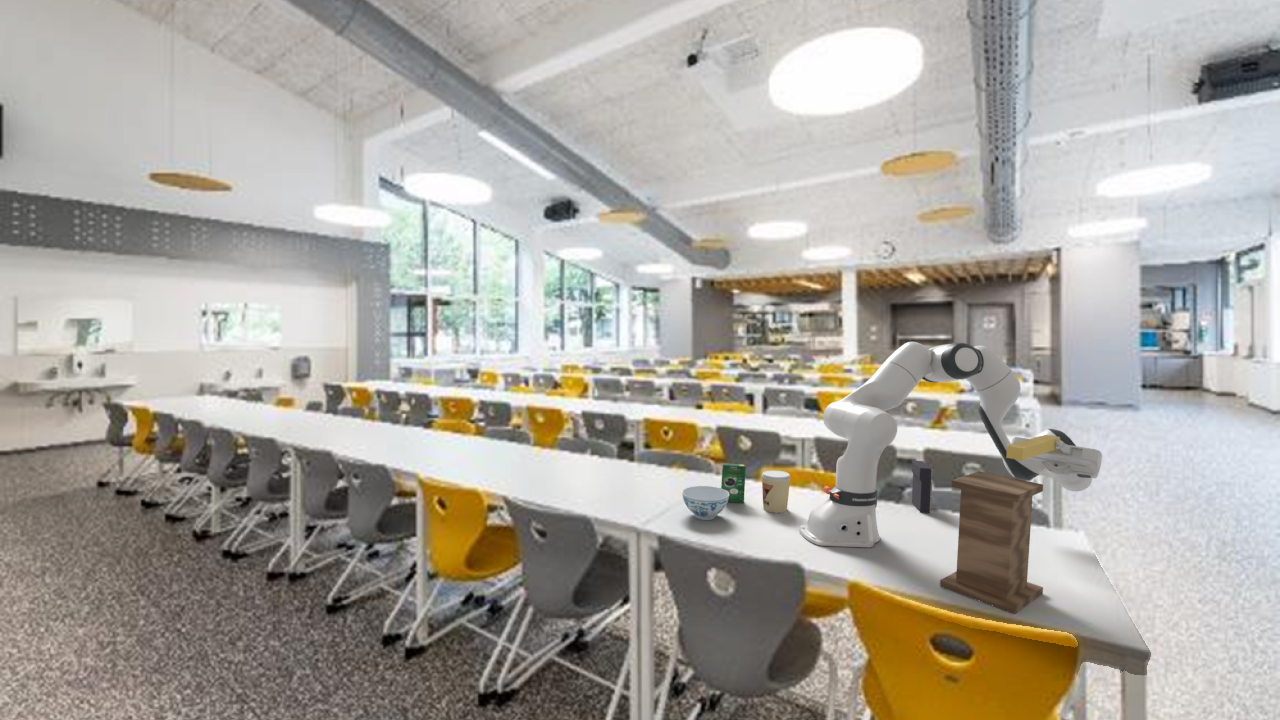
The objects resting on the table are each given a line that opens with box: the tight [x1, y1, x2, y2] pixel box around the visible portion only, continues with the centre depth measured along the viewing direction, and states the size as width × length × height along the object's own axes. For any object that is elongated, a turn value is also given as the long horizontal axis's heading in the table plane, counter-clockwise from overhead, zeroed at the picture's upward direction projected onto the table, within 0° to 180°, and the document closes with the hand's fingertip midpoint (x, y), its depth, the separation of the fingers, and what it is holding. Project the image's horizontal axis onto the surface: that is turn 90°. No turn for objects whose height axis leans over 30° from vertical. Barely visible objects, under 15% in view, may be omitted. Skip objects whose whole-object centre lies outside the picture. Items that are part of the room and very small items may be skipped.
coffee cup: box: [761, 469, 791, 514], centre depth 195 cm, size 9×9×12 cm
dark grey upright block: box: [910, 460, 933, 514], centre depth 197 cm, size 11×4×15 cm, turn 168°
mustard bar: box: [1006, 435, 1060, 461], centre depth 149 cm, size 24×4×3 cm, turn 127°
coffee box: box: [720, 463, 747, 504], centre depth 202 cm, size 8×3×13 cm, turn 85°
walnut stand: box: [939, 470, 1044, 615], centre depth 137 cm, size 16×16×26 cm
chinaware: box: [681, 485, 729, 521], centre depth 187 cm, size 15×15×8 cm
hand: (1046, 441), depth 154 cm, fingers closed on mustard bar, 3 cm apart
